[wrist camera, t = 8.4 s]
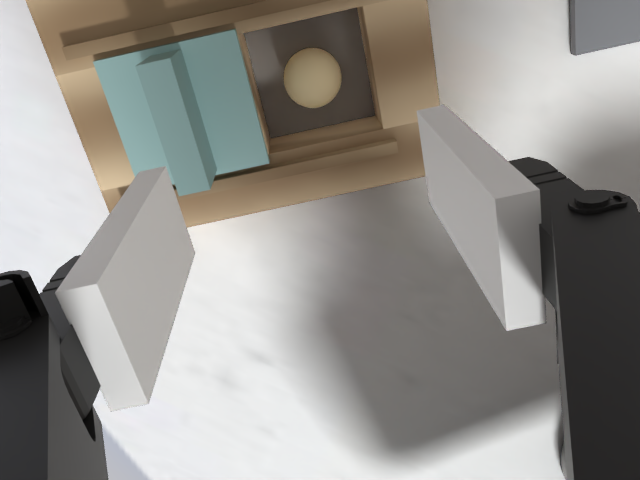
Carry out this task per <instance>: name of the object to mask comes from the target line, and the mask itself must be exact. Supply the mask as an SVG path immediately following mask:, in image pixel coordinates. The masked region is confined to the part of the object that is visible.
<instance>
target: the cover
mask: <svg viewBox="0 0 640 480" xmlns="http://www.w3.org/2000/svg"><path fill="white" fill-rule="evenodd" d="M93 64H94V66H95V69H96V72H97V74H98V77H99V80H100V83H101V85H102V88H103V91H104V94H105V96H106V99H107V102H108V105H109V107H110V110H111V113H112V116H113V118H114V121H115V124H116V127H117V129H118V132H119V135H120V138H121V140H122V143H123V146H124V149H125V151H126V154H127V157H128V159H129V162H130V165H131V168H132V170H133V173H134V176H135V177H136V175H137V174H138V173H139V172H140V171H145V170H149V169H154V168H158V167H163V166H166V168H167V171H168V174H169V177H170V180H171V183H172V185H173V184H175V186H176V189H177V192H178V195H179V196H183V195H188V194H192V193H197V192H202V191H206V190H210V189H211V186H212V183H213V180H214V177H215V175H219V174H224V173H228V172H233V171H237V170H242V169H247V168H251V167H256V166H260V165H265V164H269V162H270V160H269V156H268V152H267V148H266V145H265V141H264V137H263V133H262V129H261V125H260V121H259V117H258V113H257V109H256V106H255V102H254V98H253V94H252V90H251V86H250V82H249V78H248V74H247V70H246V67H245V63H244V59H243V55H242V51H241V47H240V43H239V39H238V35H237V31H236V28H235V29H230V30H226V31H222V32H217V33H213V34H209V35H204V36H200V37H195V38H191V39H187V40H182V41H178V42H173V43H169V44H165V45H160V46H156V47H152V48H147V49H143V50H138V51H134V52H130V53H125V54H121V55H117V56H112V57H108V58H103V59H99V60H95V61H93Z"/></svg>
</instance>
